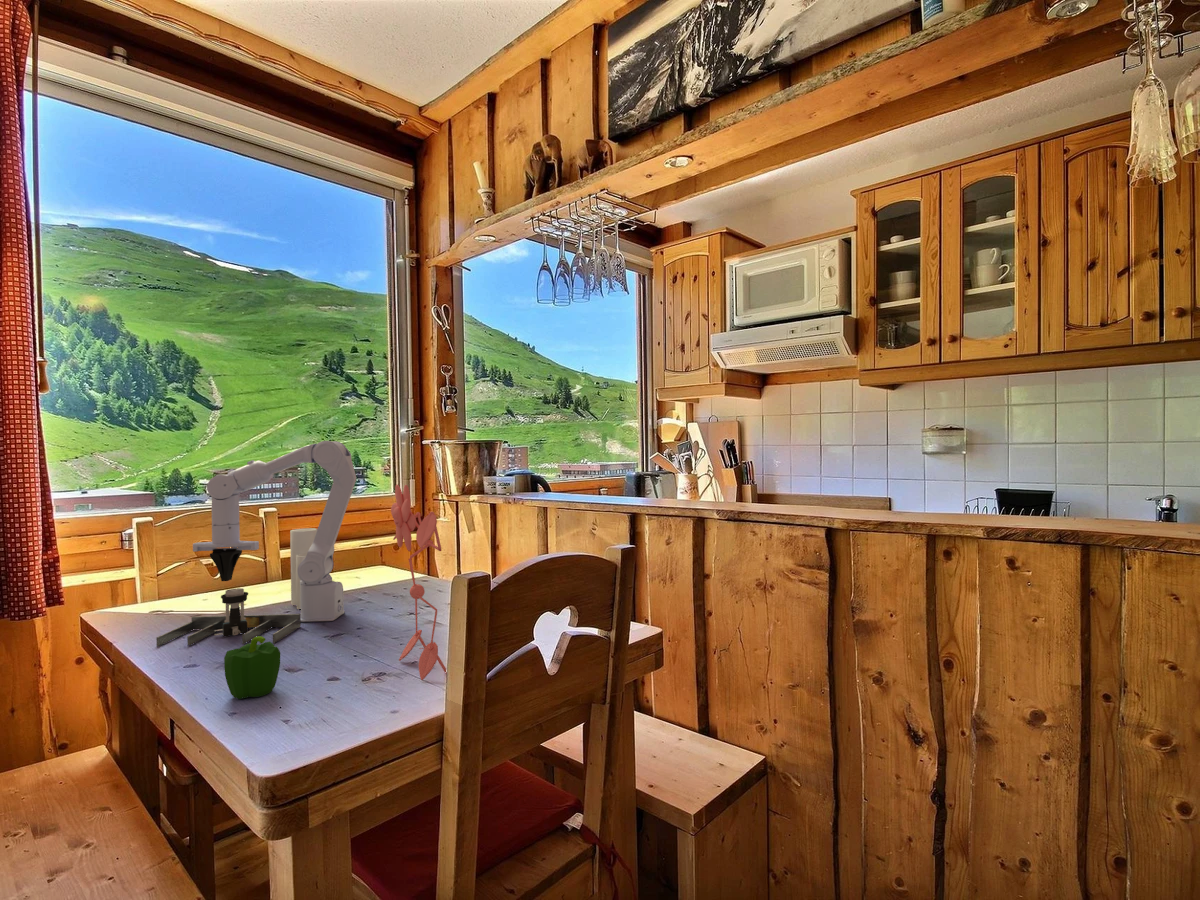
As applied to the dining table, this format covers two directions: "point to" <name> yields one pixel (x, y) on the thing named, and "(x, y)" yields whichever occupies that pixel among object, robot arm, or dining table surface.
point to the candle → (299, 558)
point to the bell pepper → (252, 669)
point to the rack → (216, 622)
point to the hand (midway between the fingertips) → (226, 580)
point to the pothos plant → (427, 527)
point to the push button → (234, 612)
